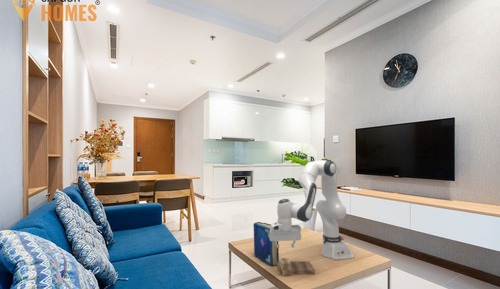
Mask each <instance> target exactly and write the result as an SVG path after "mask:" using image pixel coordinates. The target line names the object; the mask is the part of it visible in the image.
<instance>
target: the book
mask: <svg viewBox="0 0 500 289" xmlns="http://www.w3.org/2000/svg"><path fill="white" fill-rule="evenodd" d="M271 224H272V223H267V222H262V221H261V222H260V221H257V222H254V223H253V249H254V250H253V254H254V256H255V257H256V258H258V259H259V260H261V261H262V262H264V263H265V264H268V265H269V266H271V267H272V266H277V262H280V256H279V255H280V254H279V253H280V252H279V248H277V245H276V243H275V241H270V240H269V232H270V229H271ZM277 244H279V241H277Z"/></svg>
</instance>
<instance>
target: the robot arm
mask: <svg viewBox="0 0 500 289" xmlns="http://www.w3.org/2000/svg"><path fill="white" fill-rule="evenodd" d="M336 172H337V165H336V163H335V162H334V161H332V160H326V159H325V160H324V159H321V160H311V161H308V162H307V163H306V164H305V166H304V167H303V168H302V171H301V173H300V175H299V178H298V182H299V185H300V186H301V187H302V188H303V189H304V190H306V195H305V199H304V203H303V204H300V203H296V202H294V201H291V200H290V199H289V198H282V199H280V200H279V201H278V202H277V213H276V214H277V221H276V222H273V223H272V222H271V223H270V224H271V229H270V232H269V240H270V241H275V243H276V245H277V248H278V249H279V248H280V244H279V243H278V244H277V241H278V242H286V241H287V242H289V241H291V242H292V243H291V244H290V245H291V246H290V247H291V248H295V244H296V242H297V241H301V240H302V234H301V231H302V227H301V225H299V224H293V223H292V222H293V221H292V219H295V220H298V221H301V222H303V223H306V222H308V221H309V220H311V218H312V216H313V209H314V204H315V199H316V195H317V191H318V190H317V185H316V180H317V178H318V177H319V176H321V194H322V195H323V196H324V198H325V199H322V200H318V201H317V202H316V204H315V210H316V211H317V213H318V214H319V216H320V219H321V222H322V232H323V233H322V250H321V255H322V256H324V257H325V258H329V259H332V260H334V261H338V260H346V259H347V260H348V259H354V257H355V255H354V254H353V252H352V251H351V249H350V247H349V245H347V244H346V243H345V242H344V239H345V238H344V237H343V236H342V235H340V231H339V229H340V228H339V223H338V222H337V221H336V219H338V220H340V219H341V220H342V219H344V218H345V217H346V214H347V208H346V207H345V206H344V204H342V202H341V199H340V197H339V194H338V182H337V176H336Z"/></svg>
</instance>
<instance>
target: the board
mask: <svg viewBox="0 0 500 289" xmlns="http://www.w3.org/2000/svg"><path fill="white" fill-rule="evenodd" d="M289 262H290V270H291V275H292V276H293V275H315V269H314V267H313V265H312V264H311V262H310V261H309V260H306V261H303V260H301V261H289ZM276 267H277V271H278V274H279V275H280V276H282V269H281V261H279V262H277V264H276Z"/></svg>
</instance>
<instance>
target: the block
mask: <svg viewBox="0 0 500 289" xmlns="http://www.w3.org/2000/svg"><path fill="white" fill-rule="evenodd" d="M279 260H280V262H281V269H282V275H281V276H282V277H286V276H287V277H288V276H289V277H291V270H290V262H291V261H290V260H289V258H285V257H283V258H281V257H279Z"/></svg>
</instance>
